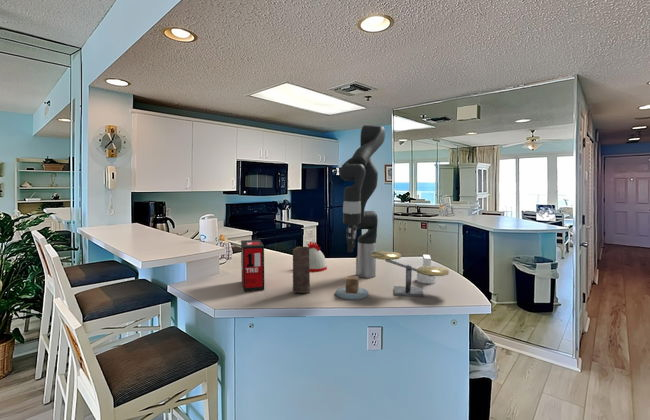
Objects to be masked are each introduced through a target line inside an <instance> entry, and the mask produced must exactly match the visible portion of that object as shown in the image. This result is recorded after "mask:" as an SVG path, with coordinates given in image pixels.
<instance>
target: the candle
mask: <svg viewBox="0 0 650 420" xmlns="http://www.w3.org/2000/svg"><path fill="white" fill-rule="evenodd" d="M310 274H311V272H310V269H309V247H308V246H296V247H295V248H292V291H293V292H295V293H299V294H300V293H302V294H304V293H310V292H311V291H310V290H311V280H310V279H311V278H310V277H311V276H310Z"/></svg>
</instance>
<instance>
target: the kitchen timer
mask: <svg viewBox="0 0 650 420" xmlns="http://www.w3.org/2000/svg"><path fill="white" fill-rule="evenodd" d="M307 247H309V269H310V273H317V272H318V273H319V272H324V270H325V271H327V268H328V267H327V266H328V265H327V260H326V257H325V255H324V253H323V252H322V251H321V246H319V244H317V242H315V241H312V242H311V241H309V243H307Z"/></svg>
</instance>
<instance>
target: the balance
mask: <svg viewBox="0 0 650 420" xmlns="http://www.w3.org/2000/svg"><path fill="white" fill-rule="evenodd" d="M371 257H373V258H376V260H384V261H385V262H387V263H389V264H393V265H396V266H398V267H401V268H404V269H405V286H404V285H403V286H400V285H399V286H398V285H394V286H393V293H394V296H399V297H400V296H403V297H421V298H424V297H425V295H424V291H423V289H422V287H419V286H412V275H413V274H412V272H416V273H417V272H418V273H420V274H423V275H428V276H431V277H432V276H436V277H444V276H448V275H449V271H450V270H449V269H447V268H444V267H441V266H434V265H431V266H423V265H422V266H418V267H416V268H415V267H413V266H411V264H405V263H401V262H398V261H395V260H399V259H401V257H402V254H401V253H399V252H395V251H390V250H389V251H386V250H383V251H382V250H381V251H378V250H376V252H372V253H371Z"/></svg>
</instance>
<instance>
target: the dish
mask: <svg viewBox="0 0 650 420" xmlns="http://www.w3.org/2000/svg"><path fill="white" fill-rule="evenodd" d="M335 296H336V297H337V298H339V299H343V300H348V301H349V300H352V301H357V300H363V299H367V298H368V297H369V290H368V289H366V288H362V287H359V290H358V294H356V293H346V286H344V287H343V286H342V287H339V288H337V289H336V290H335Z"/></svg>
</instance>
